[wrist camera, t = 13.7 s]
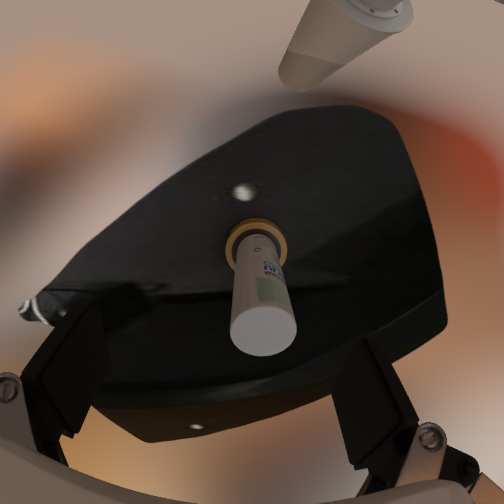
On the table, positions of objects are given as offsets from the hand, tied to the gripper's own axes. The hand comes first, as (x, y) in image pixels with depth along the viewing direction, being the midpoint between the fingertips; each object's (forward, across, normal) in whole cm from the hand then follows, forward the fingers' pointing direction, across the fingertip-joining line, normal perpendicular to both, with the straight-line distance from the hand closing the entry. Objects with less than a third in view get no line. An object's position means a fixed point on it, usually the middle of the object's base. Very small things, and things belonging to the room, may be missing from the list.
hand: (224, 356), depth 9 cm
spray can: (+34, -4, +10) cm, 35 cm away
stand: (+36, -4, +10) cm, 38 cm away
